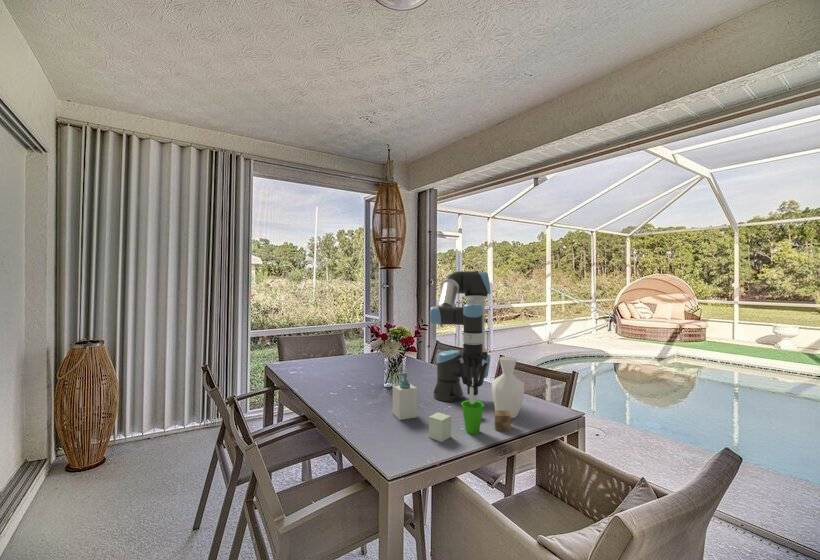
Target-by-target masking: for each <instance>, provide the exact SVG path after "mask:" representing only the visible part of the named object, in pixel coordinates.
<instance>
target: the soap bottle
mask: <svg viewBox="0 0 820 560" xmlns="http://www.w3.org/2000/svg"><path fill="white" fill-rule="evenodd" d="M408 374H410V371H405V372H397V373H395V376H402V377H403V379H402V380H401V382H400V383H399V384H398V383H397V384H393V385H392V414H393V415H394V417H396V418H397V419H398V420H399V421H403V420H408V419H414V418H418V416H419V415H418V413H419V412H418V410H419V408H418V407H419V405H418V404H419V403H418V401H419V400H418V398H419V397H418V396H419V395H418V392H419V391H418V390H419V388H418V387H417V386H415V385H414V384H412V383H411V382H409V380H408V379H407V378H408Z"/></svg>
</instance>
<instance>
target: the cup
mask: <svg viewBox="0 0 820 560" xmlns="http://www.w3.org/2000/svg"><path fill="white" fill-rule="evenodd" d="M460 405H461V406H462V413H463V414H462V415H463V419H464V420H463V421H464V426H465V431H466V433H467V434H469V435H478V434H479V432H480V429H481V423H482V418H483V417H482V416H483V411H484V407H485V403H483V402H482V401H479V400H476V402H475V403H474V404H470V399H468V400H464V401H462V402H461V403H460Z"/></svg>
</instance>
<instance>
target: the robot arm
mask: <svg viewBox="0 0 820 560" xmlns="http://www.w3.org/2000/svg"><path fill="white" fill-rule="evenodd" d="M439 288H440V295H439V297H438V301H437V305H436V306H432V307H430V310H429V321H430V323H431V324H433V325H439V326H440V325H457V326H458V325H459V326H462V327H463V330H462V331H463V332H462V333H463V334H462V335H463V338H462V339H463V340H462V341H463V346H462V350H463V351H462V352H463V353H461V351H460V350H459V349H458V350H456V349H450V350H445V351H441V352H439V353H438V354H437V357H436V358H437V359H436V372H437V373H436V384H435V387H434V389H433V398H434V399H436V400H438V401H440V402H441V401H442V402H458V401H461V400H463V399H464V392H463V388H462V385H461V382H462V384H463V385H465V386H467V388H466V389H467V395H469V400H470V404H474V403H475V402H476V401H477V400H476V399H477V398H476V396H478V394H479V387H481V386H483V384H484V380H485V379H486V378H488V376H489V372H490V365H491V364H490V363H491V355H490V354H488V350H487V349H486V348H485V347H486V346H485V338H486V337H485V329H486V328H485V321H486V320H485V317H486V316H485V315H486V314H485V313H486V311H485V308H486V305H485V304H486V303H485V302H486V300H487V299H488V298H489V297H488V296H489V295H490V294H491V284H490V277H489V273H488V272H487V271H482V270H481V271H480V270H474V271H472V270H471V271H467V270H466V271H454V272H452V273H450V274H448V275H446V276H445V277H444V278H443V280H442V281H441V283H440V286H439ZM457 294H462V295H463V294H464V298H465V299H466V300H467V303H465V304H464V305H463V306H455V304H456V298H457ZM461 380H462V381H461Z"/></svg>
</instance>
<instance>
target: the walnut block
mask: <svg viewBox="0 0 820 560" xmlns="http://www.w3.org/2000/svg"><path fill="white" fill-rule="evenodd" d="M511 423H512V418H511V415H510V411H501V410H495V409H494V431H501V432H502V431H503V432H511V430H512V429H511V427H512V426H511V425H512V424H511Z"/></svg>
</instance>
